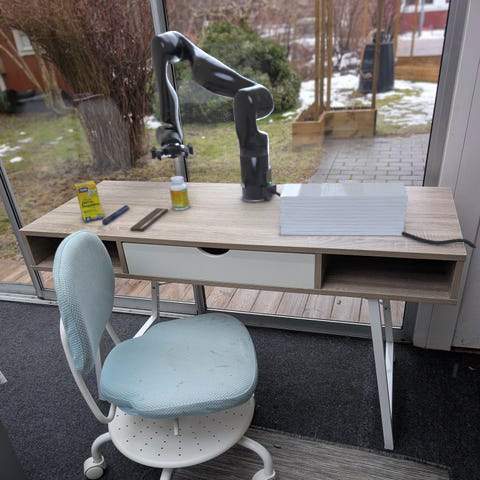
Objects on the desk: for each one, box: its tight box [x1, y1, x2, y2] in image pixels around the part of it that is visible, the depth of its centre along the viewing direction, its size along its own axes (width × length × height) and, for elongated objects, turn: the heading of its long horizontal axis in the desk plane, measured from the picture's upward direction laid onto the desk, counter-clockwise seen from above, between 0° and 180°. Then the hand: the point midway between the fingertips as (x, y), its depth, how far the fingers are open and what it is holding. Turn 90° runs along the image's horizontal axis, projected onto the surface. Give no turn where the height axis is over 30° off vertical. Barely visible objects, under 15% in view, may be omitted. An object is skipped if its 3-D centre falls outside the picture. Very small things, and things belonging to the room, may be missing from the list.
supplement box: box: [73, 180, 105, 223], centre depth 149 cm, size 6×6×11 cm
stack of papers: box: [279, 181, 409, 237], centre depth 128 cm, size 32×11×11 cm, turn 80°
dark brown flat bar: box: [130, 207, 169, 233], centre depth 146 cm, size 17×4×1 cm, turn 161°
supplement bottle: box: [169, 175, 190, 211], centre depth 151 cm, size 5×5×10 cm
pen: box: [101, 204, 130, 226], centre depth 150 cm, size 15×2×2 cm, turn 161°
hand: (173, 156), depth 156 cm, fingers open, 8 cm apart
